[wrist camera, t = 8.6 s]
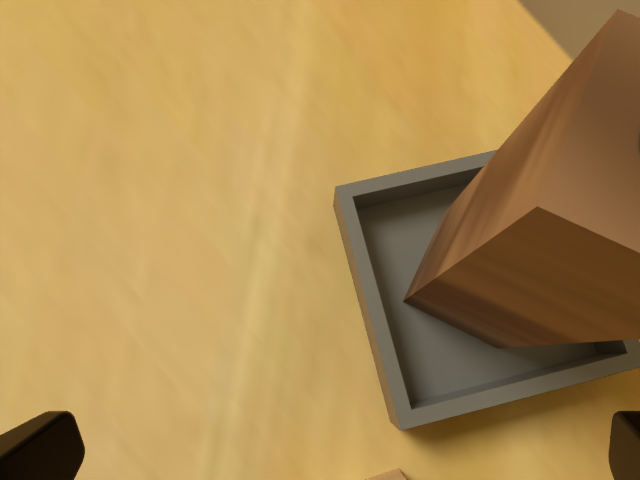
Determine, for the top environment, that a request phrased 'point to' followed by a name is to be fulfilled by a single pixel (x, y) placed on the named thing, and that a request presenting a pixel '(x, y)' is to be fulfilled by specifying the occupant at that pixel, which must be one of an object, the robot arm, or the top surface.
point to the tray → (429, 332)
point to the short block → (389, 476)
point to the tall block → (551, 215)
